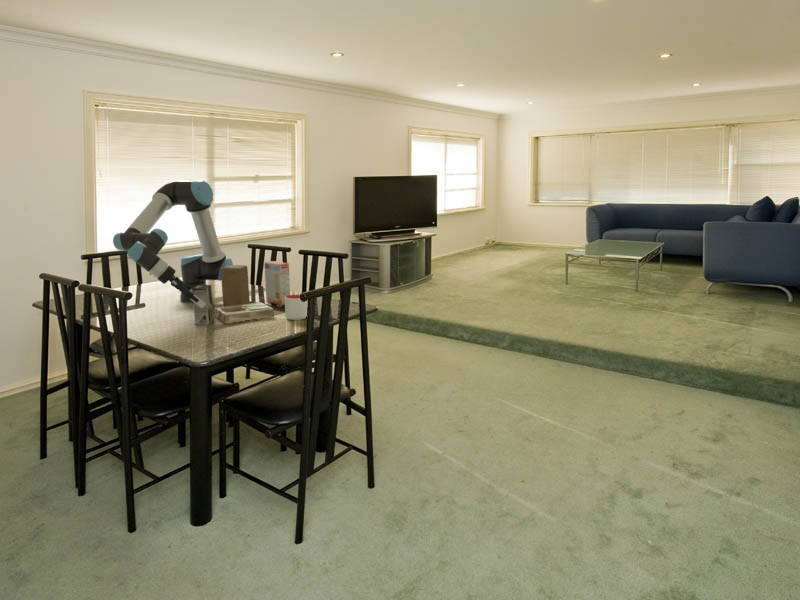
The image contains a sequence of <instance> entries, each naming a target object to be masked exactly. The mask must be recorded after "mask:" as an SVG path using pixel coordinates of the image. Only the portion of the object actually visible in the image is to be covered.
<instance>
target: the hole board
mask: <svg viewBox="0 0 800 600" xmlns="http://www.w3.org/2000/svg"><path fill="white" fill-rule="evenodd" d="M214 315H215V318H217V319H218V318H219V319H218V320H220V321H221V320H222V322H223V323H224V324H225V323H228V324H234V323H233V322H235V323H240V322H239V321H243V322H246V321H245V320H250V321H252V320H251V319H257V320H261V319H260V318H264V319H269V318H268V317H272V318H275V310H274V308H273V307H271V306H269V305H268V304H265V303H263V302H261V301H260V302H253V303H249V304H242V305H234V306H226V307H224V306H219V307H214Z"/></svg>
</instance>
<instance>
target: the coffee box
mask: <svg viewBox="0 0 800 600" xmlns="http://www.w3.org/2000/svg"><path fill="white" fill-rule="evenodd" d="M192 292H193V294H195V295H196V296H197V297H199V298H200V299H201V300H202V301H204V302H205V303H206V305H205V306H204V307H203V308H201V307H199V306H198V305H197V304H196V303H194V302H192V304H193V313H194V325H195V324H203V325H210V324H211V323H213V321H214V320H215V317H214V315H215V313H214V305H213V295H212V294H213V292H212V285H211V284H206V285H197V286H195V287H194V288H193V289H192Z"/></svg>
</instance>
